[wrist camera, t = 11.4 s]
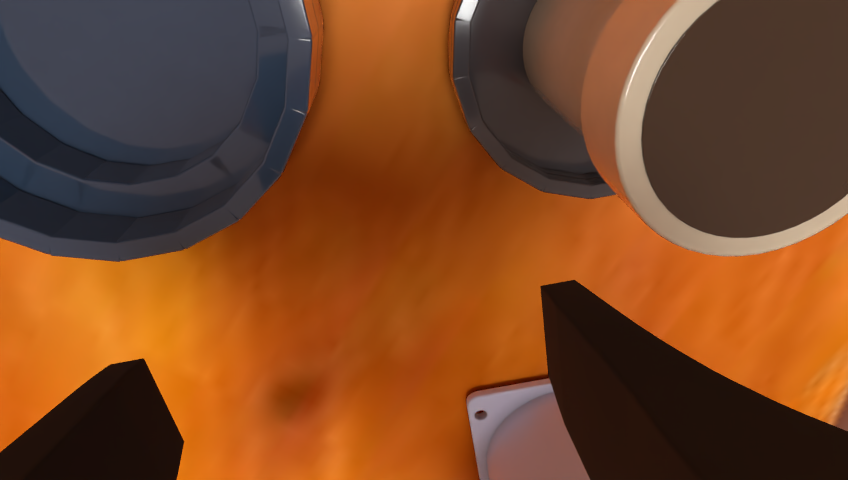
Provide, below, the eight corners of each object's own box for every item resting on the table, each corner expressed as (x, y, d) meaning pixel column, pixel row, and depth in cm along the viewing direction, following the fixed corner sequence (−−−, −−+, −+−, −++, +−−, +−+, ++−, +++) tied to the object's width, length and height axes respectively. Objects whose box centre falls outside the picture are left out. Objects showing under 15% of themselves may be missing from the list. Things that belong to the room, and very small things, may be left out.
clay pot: (684, 114, 19) (904, 230, 11) (518, 144, 19) (619, 282, 11) (691, -76, 17) (980, -99, 9) (500, -40, 17) (613, -32, 9)
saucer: (732, 155, 21) (757, 169, 19) (466, 203, 21) (473, 221, 19) (756, -162, 16) (790, -172, 15) (422, -99, 16) (427, -104, 15)
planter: (359, 171, 20) (356, 219, 16) (26, 232, 20) (-51, 293, 16) (261, -260, 15) (224, -327, 11) (-189, -174, 15) (-369, -214, 11)
